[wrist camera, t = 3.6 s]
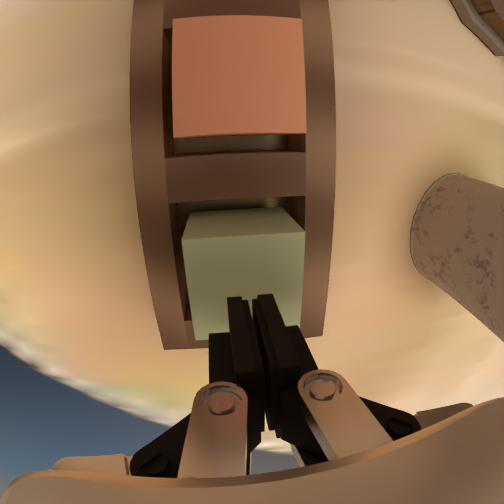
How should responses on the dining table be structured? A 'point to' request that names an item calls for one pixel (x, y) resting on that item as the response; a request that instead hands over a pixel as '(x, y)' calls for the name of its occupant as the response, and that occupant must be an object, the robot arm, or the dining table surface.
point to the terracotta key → (238, 76)
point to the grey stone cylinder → (463, 245)
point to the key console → (228, 159)
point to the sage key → (242, 264)
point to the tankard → (484, 21)
